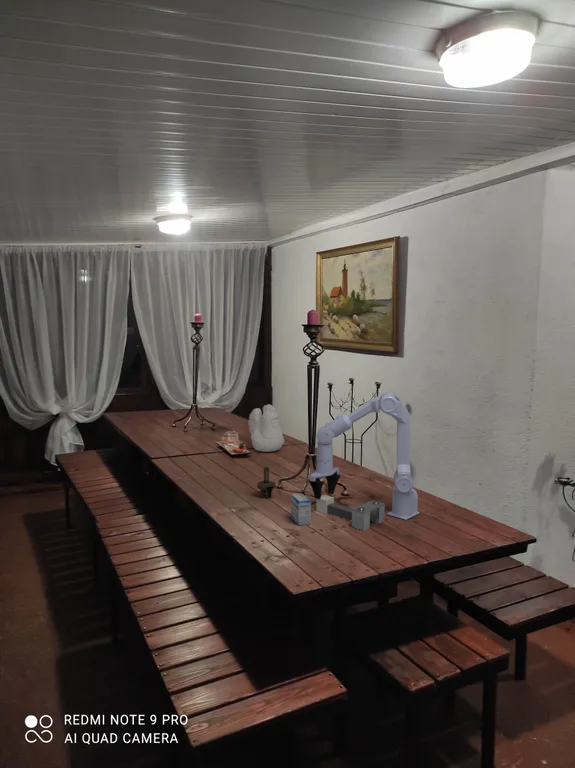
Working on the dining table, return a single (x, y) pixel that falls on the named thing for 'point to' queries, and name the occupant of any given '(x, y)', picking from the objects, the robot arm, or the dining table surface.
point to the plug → (333, 507)
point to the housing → (367, 514)
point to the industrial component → (266, 485)
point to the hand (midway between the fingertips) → (324, 496)
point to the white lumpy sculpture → (265, 429)
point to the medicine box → (300, 509)
